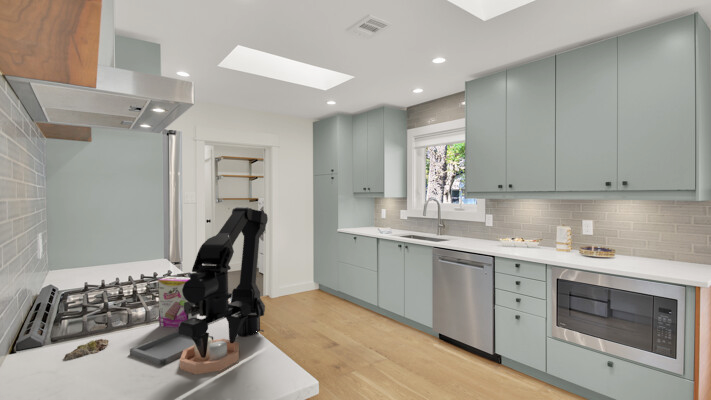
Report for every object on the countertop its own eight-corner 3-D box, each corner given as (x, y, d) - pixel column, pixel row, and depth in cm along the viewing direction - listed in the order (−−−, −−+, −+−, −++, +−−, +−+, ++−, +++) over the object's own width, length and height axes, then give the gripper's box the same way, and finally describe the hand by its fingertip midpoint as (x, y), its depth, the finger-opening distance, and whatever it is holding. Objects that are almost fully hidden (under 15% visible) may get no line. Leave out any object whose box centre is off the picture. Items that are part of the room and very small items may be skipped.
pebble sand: (204, 351, 98) (204, 336, 98) (216, 354, 96) (215, 338, 96) (191, 358, 94) (190, 342, 94) (202, 362, 92) (202, 345, 92)
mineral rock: (96, 336, 106) (112, 333, 103) (100, 350, 106) (116, 348, 103) (54, 353, 97) (70, 350, 93) (58, 369, 96) (74, 366, 93)
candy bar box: (158, 328, 117) (156, 279, 117) (168, 323, 122) (167, 275, 122) (188, 331, 115) (187, 280, 115) (198, 325, 120) (196, 277, 120)
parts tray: (182, 335, 112) (182, 328, 111) (213, 343, 105) (213, 336, 105) (130, 357, 97) (129, 349, 97) (162, 368, 91) (161, 360, 91)
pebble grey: (219, 355, 96) (218, 339, 96) (231, 359, 94) (230, 342, 93) (205, 363, 92) (205, 346, 92) (217, 366, 90) (217, 349, 90)
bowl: (214, 346, 103) (214, 336, 103) (250, 356, 97) (249, 345, 97) (169, 368, 91) (169, 356, 91) (207, 381, 85) (206, 368, 84)
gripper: (223, 279, 104) (224, 331, 105) (162, 296, 88) (164, 358, 88) (251, 283, 99) (252, 338, 99) (193, 302, 82) (195, 368, 83)
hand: (218, 349), depth 93 cm, fingers open, 9 cm apart
